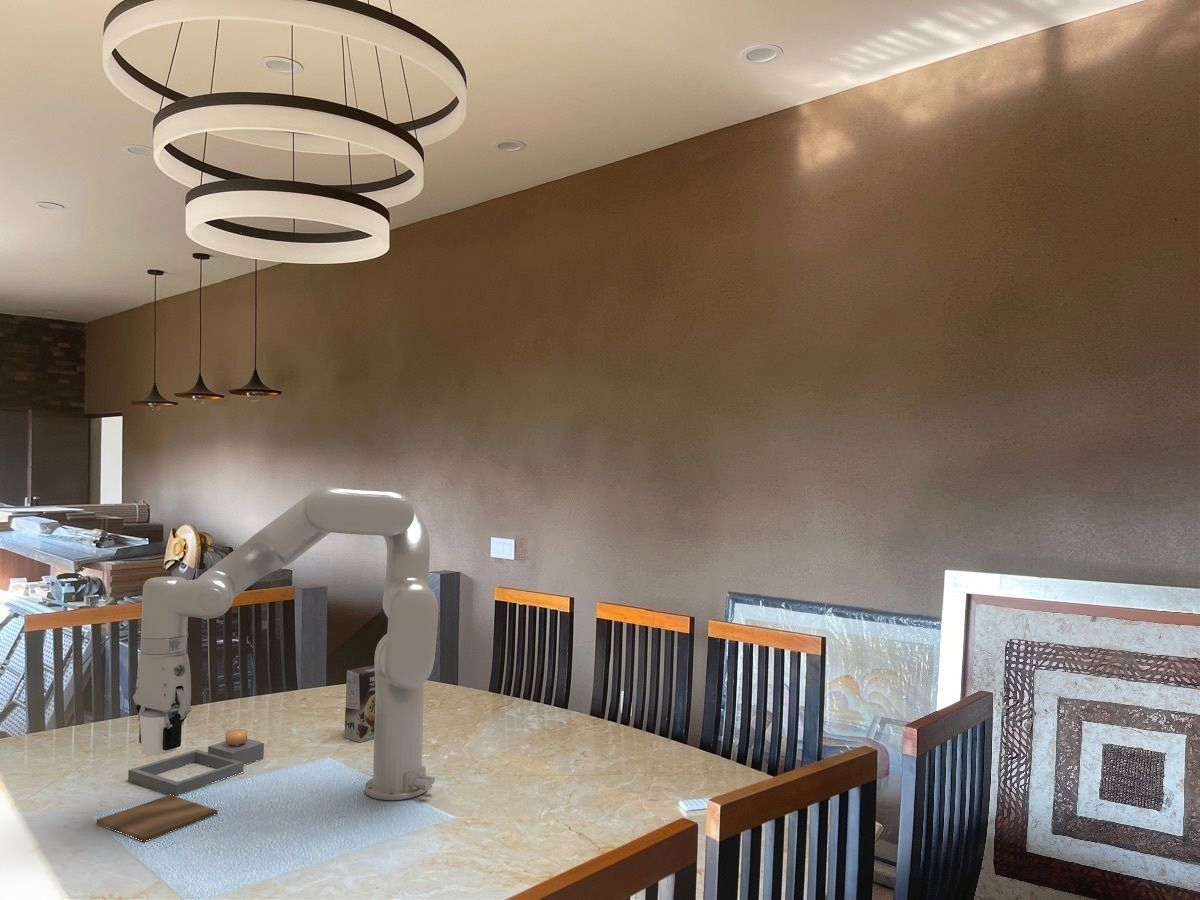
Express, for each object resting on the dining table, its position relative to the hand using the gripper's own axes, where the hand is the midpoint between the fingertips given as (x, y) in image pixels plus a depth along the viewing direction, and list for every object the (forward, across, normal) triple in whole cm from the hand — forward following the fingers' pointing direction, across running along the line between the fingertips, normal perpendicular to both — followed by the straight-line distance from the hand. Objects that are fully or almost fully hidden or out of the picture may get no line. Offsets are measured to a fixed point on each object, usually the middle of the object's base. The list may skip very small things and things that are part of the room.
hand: (159, 744), depth 154 cm
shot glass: (+1, 0, 0) cm, 1 cm away
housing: (+13, +15, -20) cm, 28 cm away
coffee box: (+14, +4, -56) cm, 58 cm away
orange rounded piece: (+12, +15, -28) cm, 34 cm away
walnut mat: (+14, 0, 0) cm, 14 cm away
